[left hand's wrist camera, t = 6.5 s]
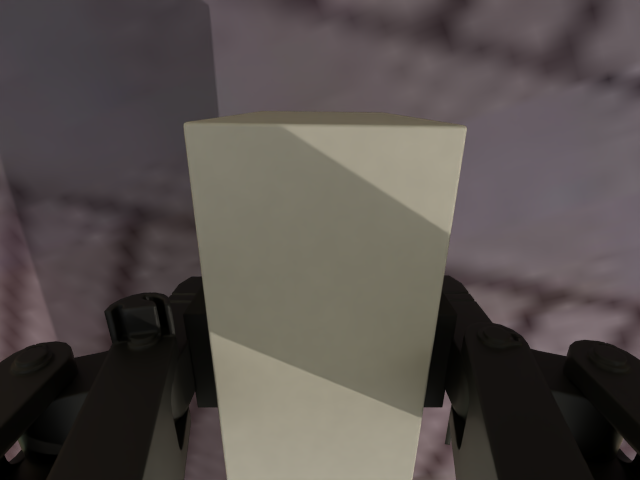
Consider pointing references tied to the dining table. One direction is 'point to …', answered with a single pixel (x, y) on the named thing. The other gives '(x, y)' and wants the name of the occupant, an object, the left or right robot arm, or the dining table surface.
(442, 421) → the dining table surface
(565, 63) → the dining table surface
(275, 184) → the post
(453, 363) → the left robot arm
